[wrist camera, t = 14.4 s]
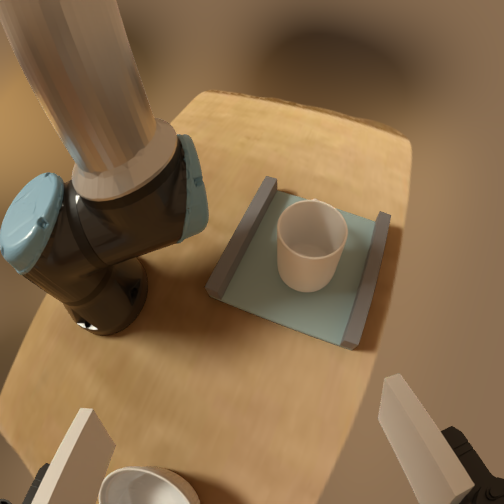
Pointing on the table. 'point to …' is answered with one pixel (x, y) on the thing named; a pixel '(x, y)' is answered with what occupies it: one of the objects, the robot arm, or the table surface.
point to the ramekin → (146, 487)
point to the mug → (309, 244)
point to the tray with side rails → (285, 298)
